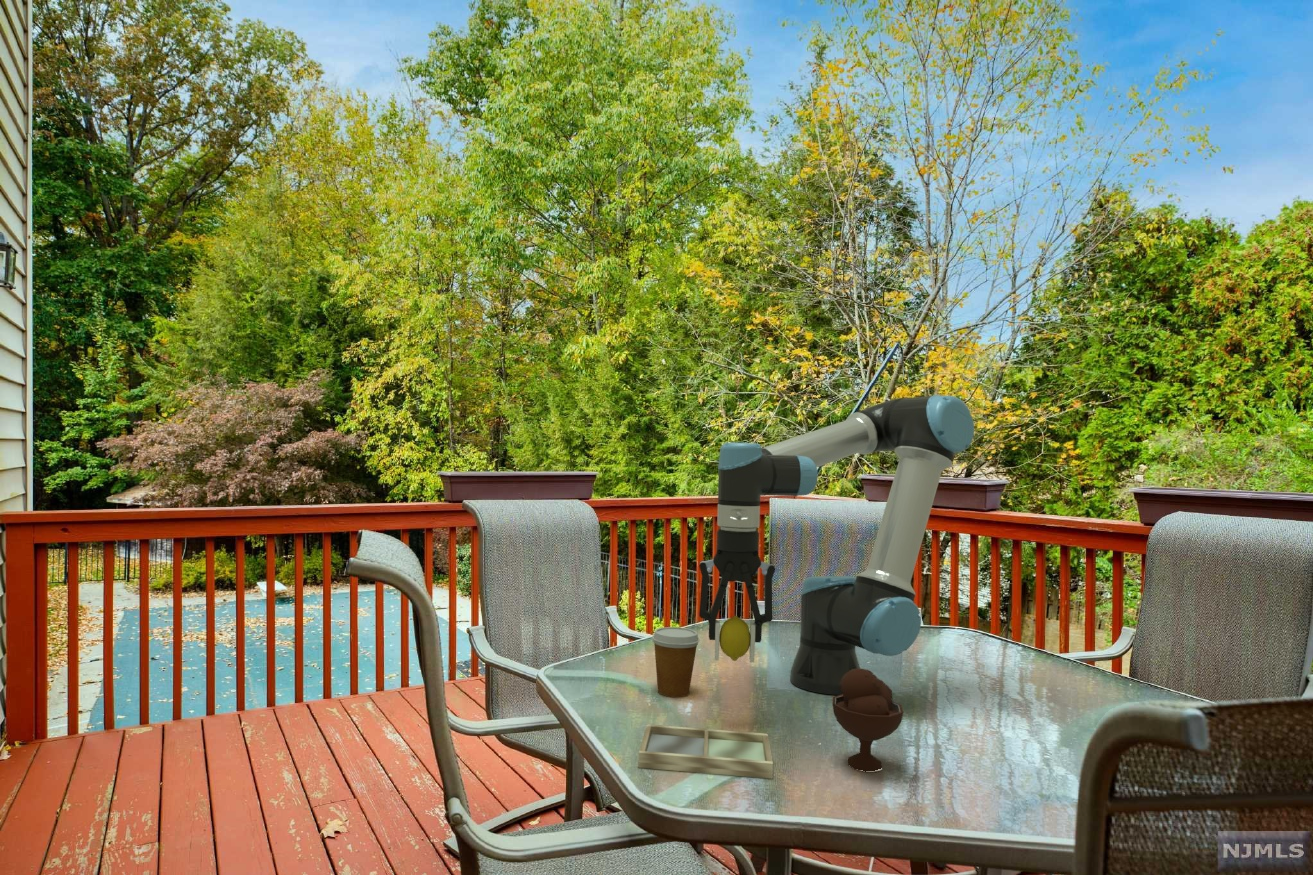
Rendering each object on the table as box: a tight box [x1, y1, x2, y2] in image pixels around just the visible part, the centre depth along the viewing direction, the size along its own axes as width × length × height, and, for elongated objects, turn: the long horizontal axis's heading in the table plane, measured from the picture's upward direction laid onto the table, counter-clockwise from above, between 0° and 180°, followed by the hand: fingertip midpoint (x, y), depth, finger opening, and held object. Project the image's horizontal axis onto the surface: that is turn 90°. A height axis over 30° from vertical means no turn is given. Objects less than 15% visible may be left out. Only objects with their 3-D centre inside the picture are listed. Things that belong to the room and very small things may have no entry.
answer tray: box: [637, 724, 774, 779], centre depth 115 cm, size 20×12×2 cm, turn 85°
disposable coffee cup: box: [651, 626, 700, 698], centre depth 147 cm, size 10×10×12 cm
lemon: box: [719, 615, 750, 662], centre depth 130 cm, size 6×6×8 cm
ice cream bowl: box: [832, 667, 904, 773], centre depth 115 cm, size 11×11×15 cm
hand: (734, 658), depth 130 cm, fingers closed on lemon, 5 cm apart
